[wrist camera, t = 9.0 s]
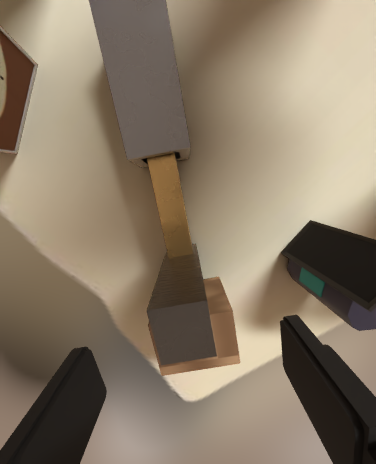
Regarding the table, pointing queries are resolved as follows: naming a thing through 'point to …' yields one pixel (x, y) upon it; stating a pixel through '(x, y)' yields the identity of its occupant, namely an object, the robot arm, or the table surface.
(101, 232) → the table surface
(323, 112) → the table surface
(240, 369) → the table surface
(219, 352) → the socket
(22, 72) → the food container
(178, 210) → the gold grey t-shaped bar
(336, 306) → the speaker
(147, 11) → the sleeve
